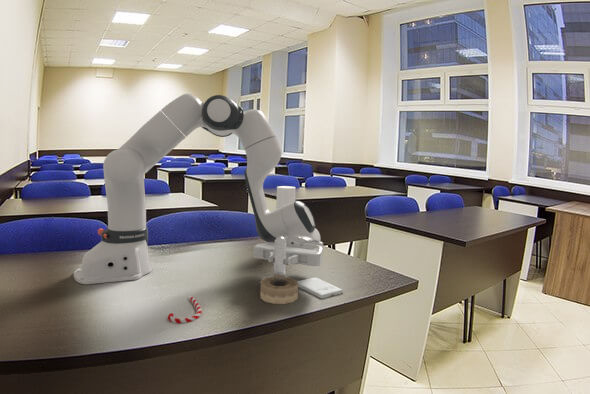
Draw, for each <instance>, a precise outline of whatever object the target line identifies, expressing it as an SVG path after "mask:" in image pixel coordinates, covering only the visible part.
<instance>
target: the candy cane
mask: <svg viewBox="0 0 590 394" xmlns="http://www.w3.org/2000/svg"><path fill="white" fill-rule="evenodd" d="M188 300H189V302H190V303H191V304H192V305H193V307H194V309H195V312H196V313H195V314H193V315H192V316H189V317H185V318H176V317H174V313H172V312H170V313H168V315H167V321H169V322H170V323H173V322H174V324H187V323H190V322H191V323H192V322H194V321H196V320H198V319H199V318H200V317H201V316H202V308H201V305H200V303H199V302H198V301H197V300H196V299H195V297H193V296H189V298H188Z"/></svg>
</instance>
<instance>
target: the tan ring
mask: <svg viewBox="0 0 590 394" xmlns="http://www.w3.org/2000/svg"><path fill="white" fill-rule="evenodd" d="M297 281H298V280H297V279H296V280H295V279H294V278H292V277H287V276H285V286H274V276H271V277H266V278H264V279H261V281H260V299H261V300H262V301H263V302H265V303H269V304H273V305H286V304H292V303H294V302H295V301H297V300H298V299H299V287H298V282H297Z"/></svg>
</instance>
